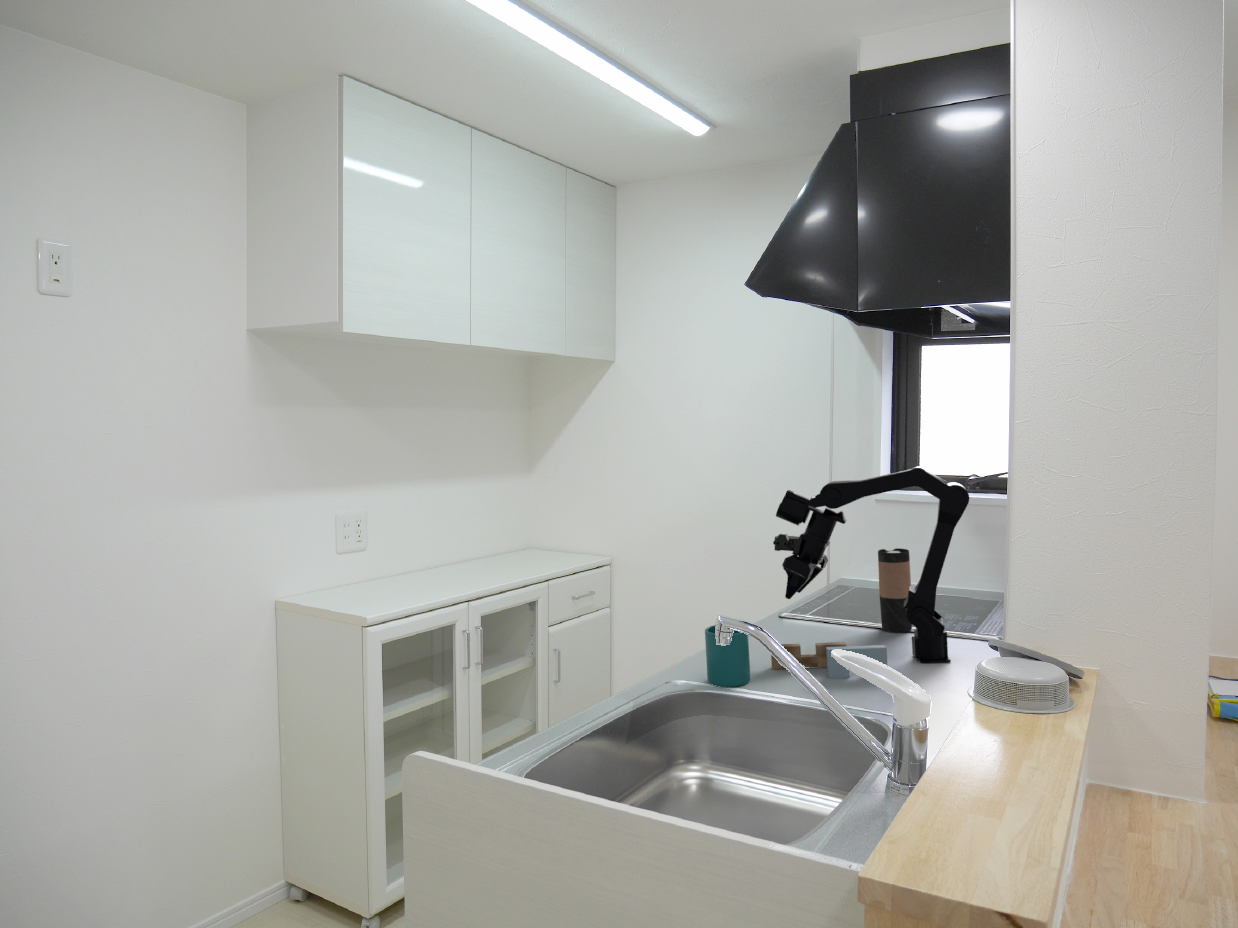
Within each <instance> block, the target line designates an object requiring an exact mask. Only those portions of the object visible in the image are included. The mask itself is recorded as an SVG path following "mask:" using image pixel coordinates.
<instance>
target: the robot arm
mask: <svg viewBox="0 0 1238 928" xmlns="http://www.w3.org/2000/svg"><path fill="white" fill-rule="evenodd" d="M912 487H919V488H921V489H922V490H923V491H925V492H927V493H928V494H930V495H931V496H933V497H935V498H936V499H938V505H937V506H938V507H937V519H936V524H935V528H934V531H933V534H932V537H931V541H930V543H929V544H930V545H929V548H928V551H927V554H926V558H925V560H924V564H923V567H922V571H921V575H920V578H919V580H918V582H917V584H916V586H915V587H913V586H912V585H911V586H909V590H908V596H907V598H906V600H905V601H904V609H906V617H907V619H908V621H909V622H910V623H911V624H912V626H914V627H915V629H913V636H911V650H912V653H911V654H912V656H913V655H914V656H915V657H916V658H917V659H918V660H919V661H920V662H919V661H918V660H917V659H916V658H915V657H914V656H913V657H914V658H915V659H916V660H917V661H918V662H919V663H921V664H926V663H951V662H952V661H951V658H950V657H949V652H948V651H949V649H948V632H947V631H946V630H945V629H946V627H945V620H944V617H943V616H942V615H941V614H940V613H939V612H937V610H936V595H937V589H938V588H937V587H938V584H939V581H940V577H941V574H942V570H943V568H944V564H945V561H946V557H947V554H948V551H949V548H950V544H951V541H952V539H953V535H954V531H955V528H956V526H957V525H958V523H959V522H960V520H961V518H962V516H963V515H964V512H965V511H966V509H967V507H968V505H969V502H970V494H969V492H968V491H967V489H966V487H965V486H964V485H962V484H961V483H958V482H948V481H946V480H945V479H943V478H941V477H939V476H937V475H935V474H934V473H931V472H929V471H928V470H927V469H925V467H923V466H915V467H912V468H909V469H905V470H901V471H897V472H893V473H892V472H891V473H888V474H887V473H886V474H883V475H878V476H873V477H871V478H866V479H859V480H857V479H856V480H835V481H830V482H827V483H826V484H825V485H824V486H823V487H822V488H821V489H820V491H819V493H818V494H816V495H812V496H811V498H807V496H806V497H805V496H803V495H800V494H798V493H796V492H795V491H792V490H790V489H788V490H786V492H785V495H784V496H783V498H782V500H781V502H780V503H779V505H778V507H777V510H776V513H775V517H776V518H778V519H782V521H783V520H784V521H786V522H789V523H791V524H792V525H796V526H798V527H799V526H800V524H802V523H803V524H806V522H807V520H808V518H809V515H810V513H811V512H812V513H811V516H810V519H809V520H808V523H807V526H806V528H805V529H804V530H805V531H804V532H803V533H800V535H799V536H795V535H788V533H786V534H782V533H779V534H778V535H775V536H774V541H772V544H773V545H774V551H776V552H780V551H785V552H786V551H787V552H791V553H792V555H789V556H787V557H785V558H784V560H783V562H782V564H781V567H782V568H783V570H784V571H785V573H786V575H787V580H786V581H787V582H786V588H785V596H784V597H785V599H788V600H791V599H792V597H793V596H795V595H796V593H798V594H800V593H801V592H802V591H804V590H805V588H806V587H807V586H808V585H809V584H810V583H812V581H813V580H814V579H815V578H816V577H817V576H818V575H820V573H821V572H822V571H823V570H824V568H826V567H827V564H828V562H829V559H828V557H827V554H825V551H826V548H827V547H829V545H830V543H831V542H830V539H831V537H832V535H833V532H834V529H835V527H836V525H837V522H838V523H840V524H843V525H845V524H846V522H847V518H846V517H845V515H844V511H843V510H840V511H838V512H837V511H835V510H834V509H836V510H837V509H839V508H842V507H843V506H846V505H848V504H851V503H853V502H855V501H858V500H861V499H863V498H866V497H870V496H875V495H879V494H884V493H888V492H892V491H897V490H903V489H907V488H912ZM821 507H825V509H824V510H823V509H818V508H821ZM832 509H833V510H832ZM819 565H820V566H819Z"/></svg>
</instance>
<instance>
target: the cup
mask: <svg viewBox="0 0 1238 928" xmlns="http://www.w3.org/2000/svg"><path fill="white" fill-rule="evenodd" d="M716 625H717V624H714V625H710V626H708V627H706V628H704V629H705V630H704V640H705V659H706V675H707V676H706V677H707V681H708V683H709V684H710V683H711V684H710V685H712V684H713V686H714V685H716V686H715V687H718V686H720V687H719V688H737V687H742V686H745V685H747V684H749V682H750V681H751V666H750V665H751V662H750V643H749V634H748V635H746V634H744V633H740V632H738V631H734V633H733V636H732V641H731V643H730V645H726V646H721V645H716V639H715V626H716Z"/></svg>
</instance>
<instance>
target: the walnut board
mask: <svg viewBox="0 0 1238 928" xmlns="http://www.w3.org/2000/svg"><path fill="white" fill-rule="evenodd" d="M780 644H781V645H782V646H784V648H785V649H787V651H788V652H790V653H791V654H792V655H793V656H794V657H795V658H796V659H797V660H798V661H799V663H801V664H802V665H804V666H805V667H810V668H809V669H812V668H811V667H825V668H824V669H827V653H826V647H843V646H847V643H846V642H845V641H840V642H839V641H836V642H833V641H831V642H815V646H814V647H815V654H814V653H813V654H812V653H811V654H810V653H809V654H802V653H801V651H802V649H801V644H800V643H787V644H785V643H780ZM770 658H771V659H770V661H771V669H772V671H773V670H786V669H785V668H784V667H783V666H781V665H780V664H779V663H778V661H777V660H776V659H775V658H774V657H773V656H772V655H771V654H770Z"/></svg>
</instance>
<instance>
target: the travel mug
mask: <svg viewBox="0 0 1238 928" xmlns="http://www.w3.org/2000/svg"><path fill="white" fill-rule="evenodd" d="M877 558H878V560H877V564H878V592H879V594H878V595H879V605H880V606H879V607H880V608H879V609H880V618H881V628H882V631H884V632H887V633H893V634H902V633H908V632H909V633H910V632H911V631H912V630H913V625H912V624H911V623H910V622H909V621H908V619H907V617H906V609H904V601H905V600H906V598H907V596H908V590H909V586H912V580H911V578H912V576H911V562H910V561H911V559H910V558H911V557H910V550H909V549H907V548H899V547H898V548H897V547H896V548H893V549H891V550H887V549H885V548H881V549H879V550H878V551H877ZM911 629H912V630H911ZM910 630H911V631H910Z"/></svg>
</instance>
